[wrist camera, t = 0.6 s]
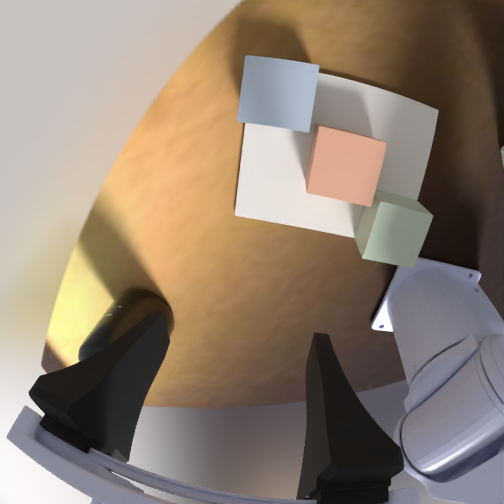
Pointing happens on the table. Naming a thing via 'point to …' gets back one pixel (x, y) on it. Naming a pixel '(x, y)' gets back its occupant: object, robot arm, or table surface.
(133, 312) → the supplement bottle
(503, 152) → the skincare box
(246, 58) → the slate block
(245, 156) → the felt mat
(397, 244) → the sage block
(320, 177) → the terracotta block
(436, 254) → the table surface
